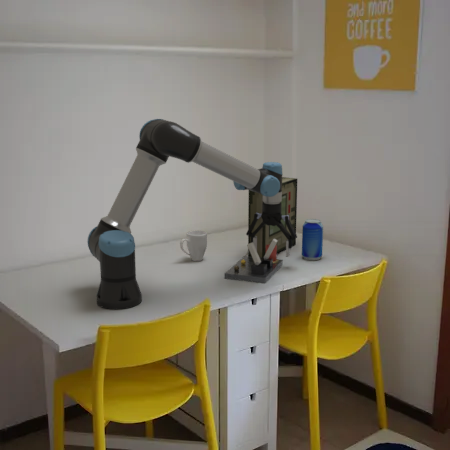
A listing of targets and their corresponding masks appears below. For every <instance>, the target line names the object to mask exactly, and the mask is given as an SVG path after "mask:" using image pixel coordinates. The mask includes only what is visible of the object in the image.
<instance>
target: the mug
mask: <svg viewBox="0 0 450 450" xmlns="http://www.w3.org/2000/svg"><path fill="white" fill-rule="evenodd" d="M184 241H186V247H187V251H188V252H187V251H186V250H185V249H184V247H183V243H184ZM207 245H208V233H207V231H204V230H191V231H188V232H187V233H186V238H182V239H181V240H180V243H179V246H180V249H181V250H182V252H183V253H185V254H186V255H187V256H190V259H191V261H194V262H201V261H202V260H203V258H204V256H205V252H206V250H207V247H208V246H207Z"/></svg>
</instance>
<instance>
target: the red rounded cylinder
mask: <svg viewBox="0 0 450 450" xmlns="http://www.w3.org/2000/svg"><path fill="white" fill-rule="evenodd" d="M269 246H270V244H268V245H266V252H267V250H268V248H269ZM277 256H278V254H277V245H275V247H274V249H273V251H272V253H271V255H270V257H269V258H272V259H273V262H275V261H276V260H277V259H278V257H277Z"/></svg>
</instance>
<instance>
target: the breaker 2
mask: <svg viewBox="0 0 450 450" xmlns="http://www.w3.org/2000/svg"><path fill="white" fill-rule="evenodd" d="M277 241H278V240H276V239H273V240H272V242H271V244H270V246H269V248H268V250H267V252H266V254H265V256H264V259H265V260H267V259H268V258H269V257H270V255H271V253H272V251H273V249H274V247H275V245H276V243H277Z"/></svg>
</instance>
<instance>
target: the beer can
mask: <svg viewBox="0 0 450 450" xmlns="http://www.w3.org/2000/svg"><path fill="white" fill-rule="evenodd" d="M301 231H302V236H301V237H302V238H301V256H302V258H303V259H304V260H307V261H319V260H320V259H321V258H322V256H323V246H324V245H323V244H324V225H323V223H322V220H321V219H317V218H308V219H305V220H304V223H303V225H302V230H301Z"/></svg>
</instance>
